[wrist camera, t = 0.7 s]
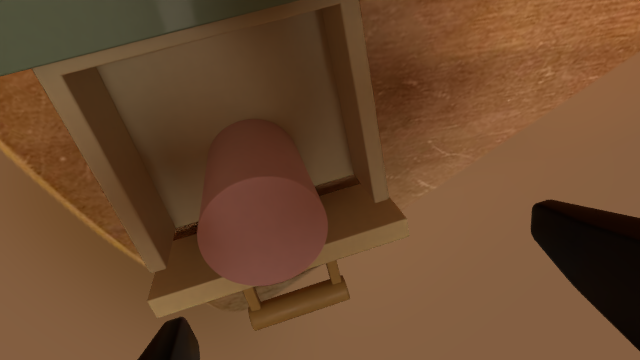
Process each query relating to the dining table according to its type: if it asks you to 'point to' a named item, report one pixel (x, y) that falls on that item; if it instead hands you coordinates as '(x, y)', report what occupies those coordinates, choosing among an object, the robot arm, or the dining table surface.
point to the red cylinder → (259, 206)
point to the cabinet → (100, 25)
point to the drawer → (215, 115)
